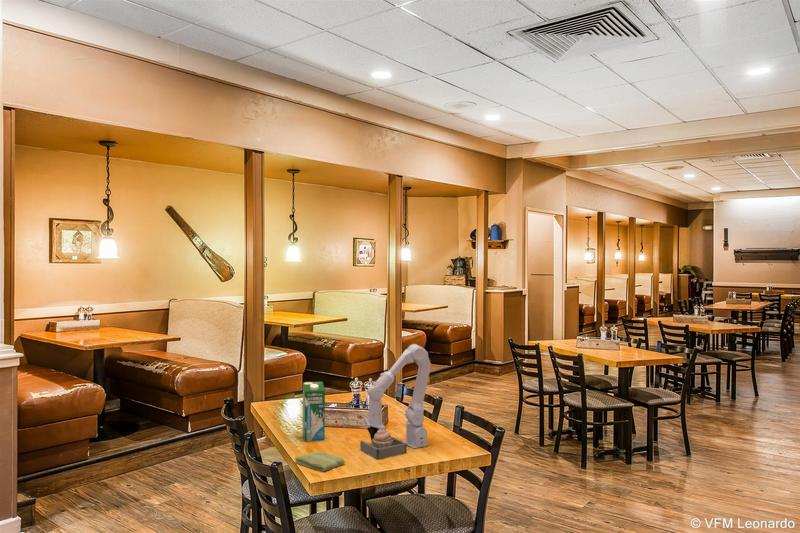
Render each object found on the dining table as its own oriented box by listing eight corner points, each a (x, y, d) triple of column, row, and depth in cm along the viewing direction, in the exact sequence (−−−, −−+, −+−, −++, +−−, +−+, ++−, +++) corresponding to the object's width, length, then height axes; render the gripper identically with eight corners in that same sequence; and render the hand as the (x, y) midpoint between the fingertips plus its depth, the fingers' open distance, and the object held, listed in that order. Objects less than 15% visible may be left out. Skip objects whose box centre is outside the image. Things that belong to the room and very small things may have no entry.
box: (406, 453, 242) (406, 443, 242) (377, 459, 234) (377, 449, 234) (388, 444, 253) (388, 435, 253) (360, 450, 245) (360, 440, 245)
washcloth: (316, 455, 239) (316, 447, 239) (346, 465, 228) (346, 457, 228) (292, 463, 229) (292, 455, 229) (322, 474, 218) (322, 466, 218)
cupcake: (397, 451, 244) (398, 428, 244) (381, 456, 238) (381, 432, 237) (383, 446, 251) (383, 423, 251) (367, 450, 244) (367, 427, 244)
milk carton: (304, 441, 256) (304, 386, 255) (302, 435, 264) (302, 382, 264) (324, 440, 258) (325, 385, 258) (321, 434, 267) (322, 381, 266)
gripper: (358, 410, 253) (358, 440, 253) (376, 418, 241) (375, 450, 241) (372, 408, 257) (372, 438, 257) (389, 415, 245) (389, 447, 245)
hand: (374, 443), depth 249 cm, fingers closed
